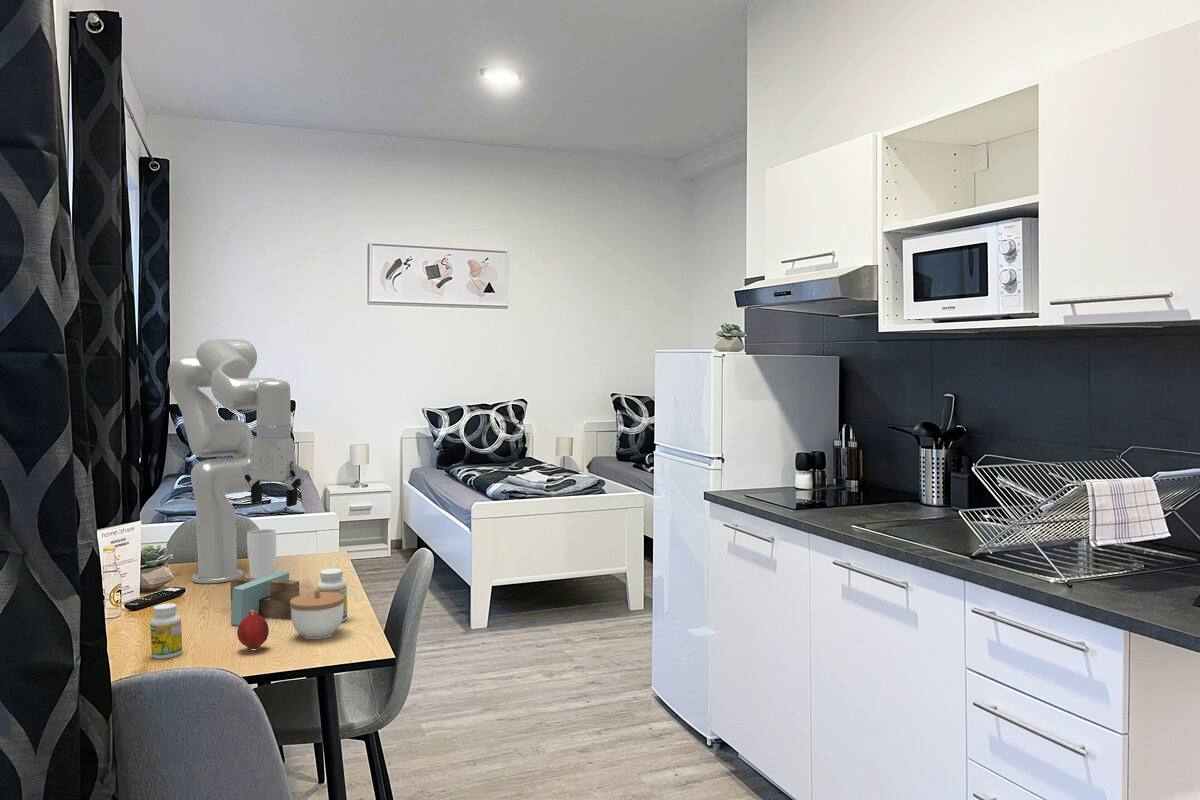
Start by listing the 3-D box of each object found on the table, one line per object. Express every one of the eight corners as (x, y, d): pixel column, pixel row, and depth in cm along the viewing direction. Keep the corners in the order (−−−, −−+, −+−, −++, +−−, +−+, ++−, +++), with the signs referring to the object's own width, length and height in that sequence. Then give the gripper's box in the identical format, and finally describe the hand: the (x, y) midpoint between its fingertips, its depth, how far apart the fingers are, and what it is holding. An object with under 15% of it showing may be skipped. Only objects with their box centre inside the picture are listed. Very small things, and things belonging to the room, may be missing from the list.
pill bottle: (319, 617, 195) (318, 568, 195) (348, 615, 196) (347, 566, 196) (316, 625, 189) (314, 574, 189) (346, 623, 190) (344, 573, 190)
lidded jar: (299, 628, 188) (297, 584, 187) (350, 626, 188) (349, 583, 188) (284, 644, 177) (282, 598, 176) (338, 642, 177) (337, 596, 177)
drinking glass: (267, 595, 215) (265, 534, 214) (242, 594, 216) (240, 533, 215) (282, 588, 221) (281, 529, 221) (258, 587, 223) (256, 528, 222)
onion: (243, 645, 176) (242, 606, 176) (272, 644, 177) (271, 605, 176) (233, 655, 170) (232, 614, 170) (264, 654, 171) (263, 613, 170)
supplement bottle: (188, 651, 173) (186, 603, 173) (167, 660, 168) (165, 610, 167) (166, 649, 175) (164, 601, 174) (144, 658, 169) (143, 608, 169)
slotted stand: (231, 615, 198) (230, 579, 198) (238, 612, 201) (237, 577, 200) (293, 619, 194) (292, 583, 194) (300, 616, 196) (299, 580, 196)
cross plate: (240, 626, 190) (242, 589, 189) (230, 624, 190) (232, 587, 190) (287, 606, 205) (289, 572, 204) (278, 604, 206) (280, 570, 205)
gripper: (232, 432, 207) (232, 504, 208) (295, 436, 202) (295, 509, 203) (253, 429, 214) (253, 498, 216) (314, 432, 209) (314, 504, 211)
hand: (274, 504), depth 209 cm, fingers open, 9 cm apart
